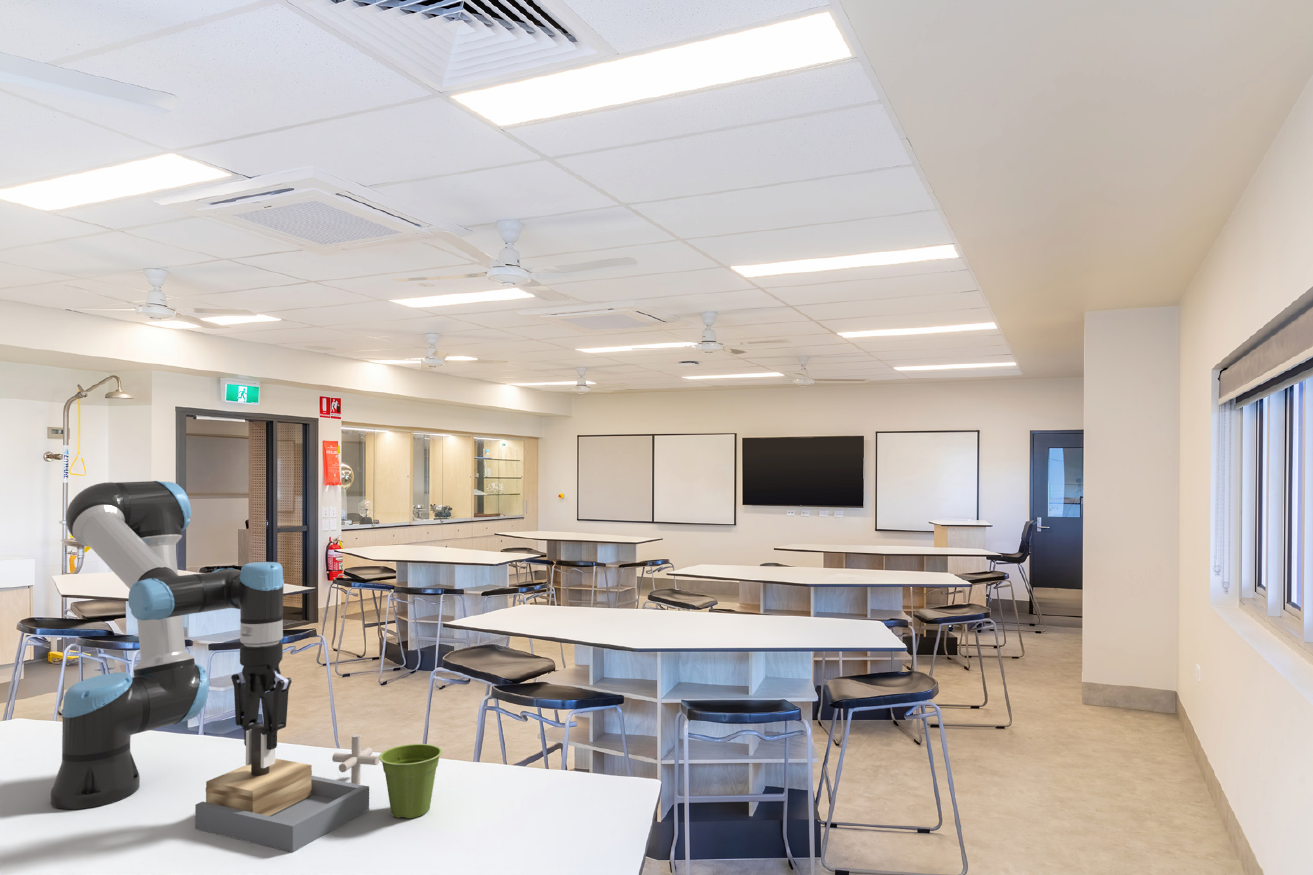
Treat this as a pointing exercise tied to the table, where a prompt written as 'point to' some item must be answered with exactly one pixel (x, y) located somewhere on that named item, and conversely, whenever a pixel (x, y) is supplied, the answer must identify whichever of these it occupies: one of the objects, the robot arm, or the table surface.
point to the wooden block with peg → (261, 783)
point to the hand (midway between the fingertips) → (260, 763)
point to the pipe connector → (355, 759)
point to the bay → (289, 816)
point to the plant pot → (410, 777)
